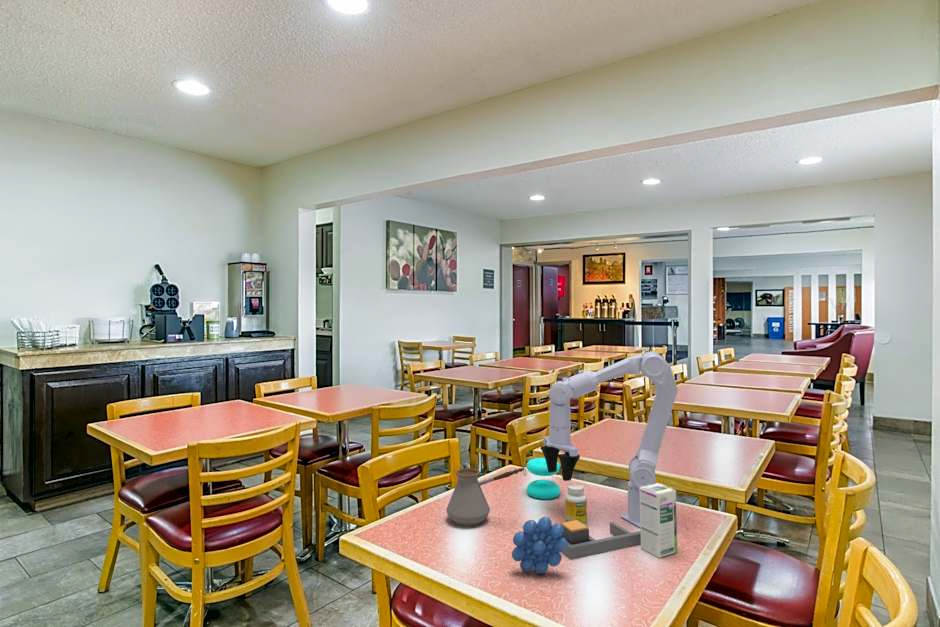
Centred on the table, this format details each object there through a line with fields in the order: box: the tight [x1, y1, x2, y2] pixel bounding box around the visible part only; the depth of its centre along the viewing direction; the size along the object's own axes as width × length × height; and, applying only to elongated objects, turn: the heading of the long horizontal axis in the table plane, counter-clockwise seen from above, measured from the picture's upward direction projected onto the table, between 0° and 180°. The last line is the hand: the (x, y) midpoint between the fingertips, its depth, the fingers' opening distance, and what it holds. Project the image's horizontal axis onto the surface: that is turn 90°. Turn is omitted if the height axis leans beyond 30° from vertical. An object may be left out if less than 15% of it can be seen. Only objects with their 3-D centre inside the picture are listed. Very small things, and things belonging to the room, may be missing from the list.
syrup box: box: [639, 482, 678, 559], centre depth 119 cm, size 6×6×14 cm
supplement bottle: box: [565, 483, 588, 526], centre depth 135 cm, size 5×5×10 cm
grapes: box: [511, 516, 568, 575], centre depth 110 cm, size 12×7×12 cm, turn 83°
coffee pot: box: [446, 467, 527, 527], centre depth 136 cm, size 21×12×15 cm, turn 74°
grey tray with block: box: [560, 520, 641, 560], centre depth 123 cm, size 20×8×5 cm, turn 112°
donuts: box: [526, 457, 561, 500], centre depth 156 cm, size 10×10×10 cm
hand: (559, 475), depth 142 cm, fingers open, 7 cm apart
